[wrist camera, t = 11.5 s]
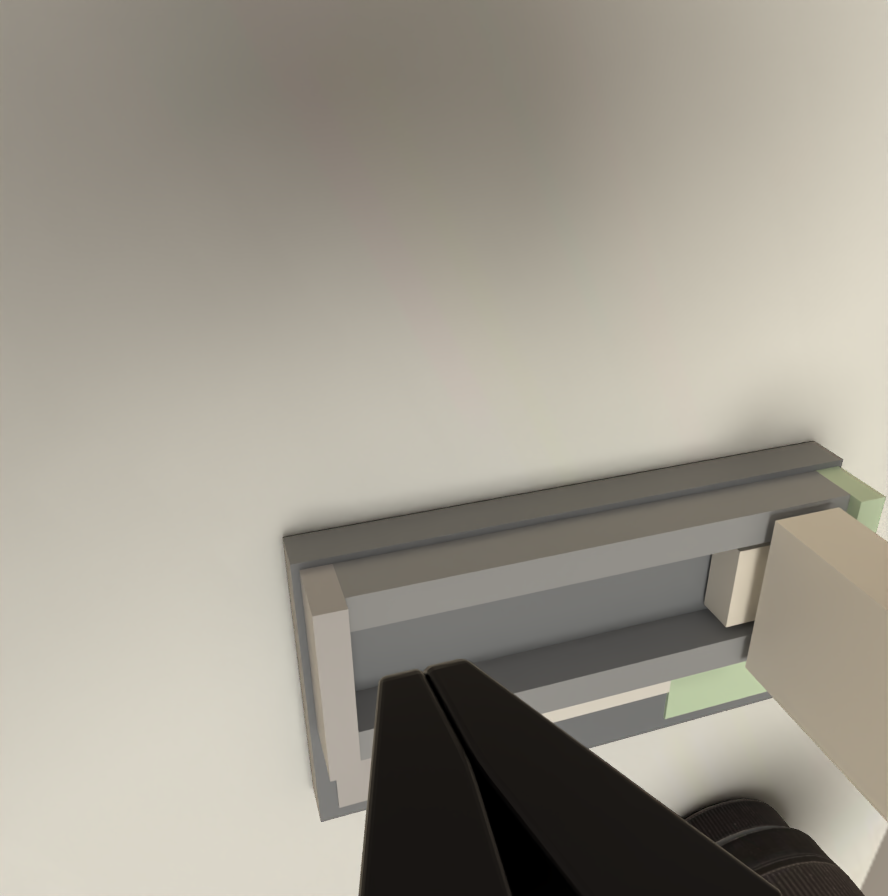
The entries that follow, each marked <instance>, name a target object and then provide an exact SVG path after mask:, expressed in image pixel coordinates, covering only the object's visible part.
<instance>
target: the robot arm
mask: <svg viewBox="0 0 888 896" xmlns="http://www.w3.org/2000/svg"><path fill="white" fill-rule="evenodd" d="M358 896H782V894H781V892H780V890H779V889H777V888H776V887H775V886H773V885H772V884H771V883H769V882H768V881H767V880H765V879H764V878H763V877H761V876H760V875H758V874H757V873H756V872H754V871H753V870H752V869H750V868H749V867H748V866H746V865H745V864H744V863H742V862H741V861H740V860H738V859H737V858H735V857H734V856H733V855H731V854H730V853H729V852H727V851H726V850H725V849H723V848H722V847H721V846H719V845H718V844H716V843H715V842H714V841H712V840H711V839H710V838H708V837H707V836H706V835H704V834H703V833H702V832H700V831H699V830H698V829H696V828H695V827H693V826H692V825H691V824H689V823H688V822H687V821H685V820H684V819H683V818H681V817H680V816H679V815H677V814H676V813H675V812H673V811H672V810H670V809H669V808H668V807H666V806H665V805H664V804H662V803H661V802H660V801H658V800H657V799H656V798H654V797H653V796H651V795H650V794H649V793H647V792H646V791H645V790H643V789H642V788H641V787H639V786H638V785H637V784H635V783H634V782H633V781H631V780H630V779H628V778H627V777H626V776H624V775H623V774H622V773H620V772H619V771H618V770H616V769H615V768H614V767H612V766H611V765H610V764H608V763H607V762H605V761H604V760H603V759H601V758H600V757H599V756H597V755H596V754H595V753H593V752H592V751H591V750H589V749H588V748H587V747H585V746H584V745H582V744H581V743H580V742H578V741H577V740H576V739H574V738H573V737H572V736H570V735H569V734H568V733H566V732H565V731H563V730H562V729H561V728H559V727H558V726H557V725H555V724H554V723H553V722H551V721H550V720H549V719H547V718H546V717H545V716H543V715H542V714H540V713H539V712H538V711H536V710H535V709H534V708H532V707H531V706H530V705H528V704H527V703H526V702H524V701H523V700H522V699H520V698H519V697H517V696H516V695H515V694H513V693H512V692H511V691H509V690H508V689H507V688H505V687H504V686H503V685H501V684H500V683H498V682H497V681H496V680H494V679H493V678H492V677H490V676H489V675H488V674H486V673H485V672H484V671H482V670H481V669H480V668H478V667H477V666H475V665H474V664H473V663H471V662H470V661H468V660H465V659H455V660H451V661H447V662H442V663H438V664H434V665H430V666H428V667H427V668H426V669H425V670H424V671H423V672H422V671H421V670H418V669H412V670H408V671H404V672H399V673H395V674H391V675H386V676H384V677H382V678H381V679H380V681H379V684H378V692H377V703H376V714H375V724H374V735H373V746H372V756H371V767H370V778H369V788H368V799H367V810H366V820H365V831H364V842H363V852H362V863H361V874H360V885H359V895H358Z"/></svg>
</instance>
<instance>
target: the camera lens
mask: <svg viewBox="0 0 888 896" xmlns="http://www.w3.org/2000/svg"><path fill="white" fill-rule="evenodd" d="M685 821H687V822H688V823H689V824H691V825H692V826H693V827H695V828H696V829H698V830H699V831H700V832H702V833H703V834H704V835H706V836H707V837H708V838H710V839H711V840H712V841H714V842H715V843H716V844H718V845H719V846H721V847H722V848H723V849H725V850H726V851H727V852H729V853H730V854H731V855H733V856H734V857H735V858H737V859H738V860H740V861H741V862H742V863H744V864H745V865H746V866H748V867H749V868H750V869H752V870H753V871H754V872H756V873H757V874H758V875H760V876H761V877H763V878H764V879H765V880H767V881H768V882H769V883H771V884H772V885H773V886H775V887H776V888H777V889H779V890H780V892H781V894H782V896H864V895H863V893H862V892H861V891H860V890H859V888H858V887H857V886H856V885H855V884H854V882H853V881H852V880H851V879H850V877H849V876H848V875H847V874H846V873H845V872H844V871H843V870H842V869H841V868H840V867H838V866H837V865H836V864H835V863H834V862H833V861H832V860H831V859H830V858H829V857H828V856H827V855H826V854H825V853H824V851H823V850H822V849H821V848H820V847H819V846H818V845H817V844H816V842H815V841H814V840H813V839H812V838H811V837H810V836H809V835H807V834H805V833H803V832H802V831H800V830H797V829H793V828H790V827H789V826H788V825H787V824H786V822H785V821H784V820H783V819H782V818H781V817H780V815H779V814H778V813H777V812H776V811H775V810H774V809H773V808H772V807H771V806H769V805H767V804H766V803H764V802H761V801H757V800H751V799H738V800H732V801H726V802H722V803H719V804H716V805H713V806H710V807H707V808H705V809H703V810H701V811H699V812H697V813H695V814H693V815H691V816H689V817H688V818H686V819H685Z"/></svg>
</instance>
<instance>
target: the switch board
mask: <svg viewBox="0 0 888 896" xmlns="http://www.w3.org/2000/svg"><path fill="white" fill-rule="evenodd" d="M842 462H843V459H842V458H840V457H838V456H837V455H835V454H834V453H832V452H831V451H829V450H828V449H826V448H824V447H823V446H821V445H820V444H818V443H817V442H815V441H812V442H807V443H801V444H796V445H790V446H785V447H779V448H774V449H768V450H763V451H757V452H752V453H746V454H741V455H735V456H730V457H724V458H719V459H713V460H708V461H702V462H697V463H691V464H686V465H680V466H675V467H669V468H664V469H658V470H653V471H647V472H642V473H636V474H631V475H625V476H620V477H614V478H609V479H603V480H598V481H592V482H587V483H581V484H576V485H570V486H565V487H559V488H554V489H548V490H543V491H537V492H531V493H526V494H520V495H515V496H509V497H504V498H498V499H493V500H487V501H482V502H476V503H471V504H465V505H460V506H454V507H449V508H443V509H438V510H432V511H427V512H421V513H416V514H410V515H405V516H399V517H394V518H388V519H383V520H377V521H372V522H366V523H361V524H355V525H350V526H344V527H339V528H333V529H328V530H322V531H317V532H311V533H306V534H300V535H295V536H289V537H284V538H283V545H284V553H285V561H286V569H287V577H288V585H289V593H290V602H291V610H292V618H293V626H294V634H295V642H296V650H297V658H298V667H299V675H300V683H301V691H302V699H303V707H304V715H305V724H306V732H307V740H308V748H309V756H310V764H311V772H312V781H313V789H314V793H315V798H316V802H317V807H318V811H319V816H320V820H321V822H323V821H327V820H331V819H334V818H338V817H341V816H345V815H349V814H352V813H356V812H360V811H363V810H367V799H368V788H369V778H370V767H371V756H372V746H373V735H374V724H375V714H376V703H377V692H378V684H379V681H380V679H381V678H382V677H384V676H386V675H391V674H395V673H399V672H404V671H408V670H412V669H418V670H421V671H422V672H423V671H424V670H425V669H426V668H427V667H428V666H430V665H434V664H438V663H442V662H447V661H451V660H455V659H465V660H468V661H470V662H471V663H473V664H474V665H475V666H477V667H478V668H480V669H481V670H482V671H484V672H485V673H486V674H488V675H489V676H490V677H492V678H493V679H494V680H496V681H497V682H498V683H500V684H501V685H503V686H504V687H505V688H507V689H508V690H509V691H511V692H512V693H513V694H515V695H516V696H517V697H519V698H520V699H522V700H523V701H524V702H526V703H527V704H528V705H530V706H531V707H532V708H534V709H535V710H536V711H538V712H539V713H540V714H542V715H543V716H545V717H546V718H547V719H549V720H550V721H551V722H553V723H554V724H555V725H557V726H558V727H559V728H561V729H562V730H563V731H565V732H566V733H568V734H569V735H570V736H572V737H573V738H574V739H576V740H577V741H578V742H580V743H581V744H582V745H584V746H585V747H587V748H592V747H596V746H599V745H603V744H607V743H610V742H614V741H618V740H621V739H625V738H628V737H632V736H636V735H639V734H643V733H647V732H650V731H654V730H657V729H661V728H665V727H668V726H672V725H676V724H679V723H683V722H687V721H690V720H694V719H697V718H701V717H705V716H708V715H712V714H716V713H719V712H723V711H727V710H730V709H734V708H737V707H741V706H745V705H748V704H752V703H756V702H759V701H763V700H766V699H770V698H773V697H772V696H771V695H770V694H769V693H768V692H767V691H766V689H765V688H764V687H763V686H762V685H761V684H760V683H759V682H758V681H757V680H756V679H755V677H754V676H753V675H752V674H751V673H750V672H749V671H748V670H747V669H746V668H745V665H746V661H747V656H748V651H749V646H750V641H751V636H752V632H753V627H754V622H755V620H754V621H750V622H746V623H742V624H738V625H734V626H730V627H725V626H724V625H723V624H722V623H721V622H720V621H719V620H718V619H717V617H716V616H715V615H714V614H713V613H712V612H711V611H710V610H709V609H708V608H707V607H706V606H705V605H704V601H705V595H706V589H707V583H708V577H709V571H710V565H711V559H712V554H715V553H719V552H724V551H729V550H733V549H738V548H743V547H747V546H752V545H756V544H761V543H766V542H770V541H771V540H772V535H773V530H774V525H775V521H776V520H781V519H786V518H790V517H795V516H800V515H805V514H810V513H814V512H819V511H824V510H829V509H833V508H838V507H839V508H841V509H842V510H844V511H845V512H846V513H848V514H849V515H851V516H852V517H853V518H855V519H856V520H858V521H859V522H861V523H862V524H863V525H865V526H866V527H868V528H869V529H870V530H872V531H873V532H875V533H876V531H877V528H878V524H879V520H880V517H881V513H882V510H883V506H884V502H885V499H886V497H885V496H884V495H882V494H881V493H879V492H878V491H876V490H875V489H873V488H871V487H870V486H868V485H867V484H865V483H864V482H862V481H861V480H859V479H858V478H856V477H855V476H853V475H852V474H850V473H848V472H847V471H845V470H844V469H842V468H841V466H842Z"/></svg>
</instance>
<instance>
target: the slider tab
mask: <svg viewBox="0 0 888 896" xmlns="http://www.w3.org/2000/svg"><path fill="white" fill-rule="evenodd" d="M704 605H705V606H706V607H707V608H708V609H709V610H710V611H711V612H712V613H713V614H714V615H715V616H716V617H717V619H718V620H719V621H720V622H721V623H722V624H723V625H724V626H725V627H730V626H734V625H738V624H742V623H746V622H750V621H754V620H755V622H754V627H753V632H752V636H751V641H750V646H749V651H748V656H747V661H746V665H745V668H746V669H747V670H748V671H749V672H750V673H751V674H752V675H753V676H754V677H755V679H756V680H757V681H758V682H759V683H760V684H761V685H762V686H763V687H764V688H765V689H766V691H767V692H768V693H769V694H770V695H771V696H772V697H773V698H774V699H775V700H776V701H777V702H778V704H779V705H780V706H781V707H782V708H783V709H784V710H785V711H786V712H787V713H788V714H789V716H790V717H791V718H792V719H793V720H794V721H795V722H796V723H797V724H798V725H799V726H800V727H801V729H802V730H803V731H804V732H805V733H806V734H807V735H808V736H809V737H810V738H811V739H812V741H813V742H814V743H815V744H816V745H817V746H818V747H819V748H820V749H821V750H822V751H823V752H824V754H825V755H826V756H827V757H828V758H829V759H830V760H831V761H832V762H833V763H834V764H835V765H836V767H837V768H838V769H839V770H840V771H841V772H842V773H843V774H844V775H845V776H846V777H847V779H848V780H849V781H850V782H851V783H852V784H853V785H854V786H855V787H856V788H857V789H858V790H859V792H860V793H861V794H862V795H863V796H864V797H865V798H866V799H867V800H868V801H869V802H870V804H871V805H872V806H873V807H874V808H875V809H876V810H877V811H878V812H879V813H880V814H881V815H882V817H883V818H884V819H885V820H886V821H887V822H888V542H887V541H886V540H884V539H883V538H882V537H880V536H879V535H877V534H876V533H875V532H873V531H872V530H870V529H869V528H868V527H866V526H865V525H863V524H862V523H861V522H859V521H858V520H856V519H855V518H853V517H852V516H851V515H849V514H848V513H846V512H845V511H844V510H842V509H841V508H839V507H838V508H833V509H829V510H824V511H819V512H814V513H810V514H805V515H800V516H795V517H790V518H786V519H781V520H776V521H775V525H774V530H773V535H772V540H771V541H770V542H766V543H761V544H756V545H752V546H747V547H743V548H738V549H733V550H729V551H724V552H719V553H715V554H712V559H711V565H710V571H709V577H708V583H707V589H706V595H705V601H704Z"/></svg>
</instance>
